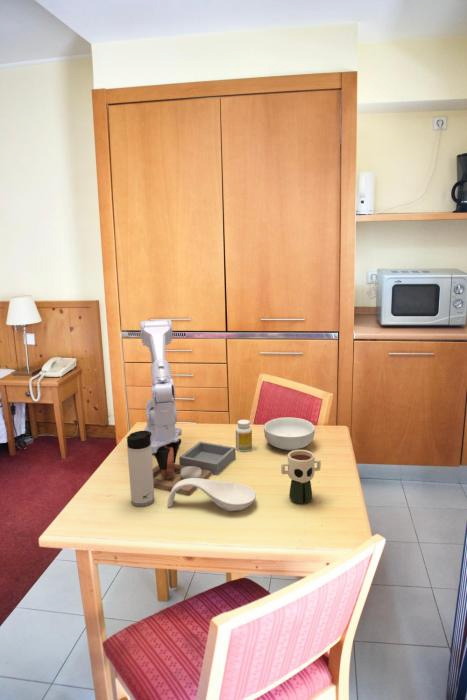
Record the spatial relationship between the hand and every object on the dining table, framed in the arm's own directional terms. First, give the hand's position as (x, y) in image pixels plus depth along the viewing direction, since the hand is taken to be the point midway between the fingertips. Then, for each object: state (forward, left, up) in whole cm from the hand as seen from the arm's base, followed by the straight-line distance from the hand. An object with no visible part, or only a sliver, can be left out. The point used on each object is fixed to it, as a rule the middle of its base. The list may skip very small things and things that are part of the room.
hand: (167, 466), depth 159 cm
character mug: (+40, +4, -4) cm, 40 cm away
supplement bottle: (+12, +28, -4) cm, 31 cm away
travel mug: (+1, -14, -4) cm, 15 cm away
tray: (+6, +14, -4) cm, 16 cm away
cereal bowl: (+25, +36, -4) cm, 44 cm away
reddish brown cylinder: (0, 0, -3) cm, 3 cm away
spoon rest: (+19, -8, -4) cm, 21 cm away
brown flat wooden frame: (+3, 0, -4) cm, 5 cm away
